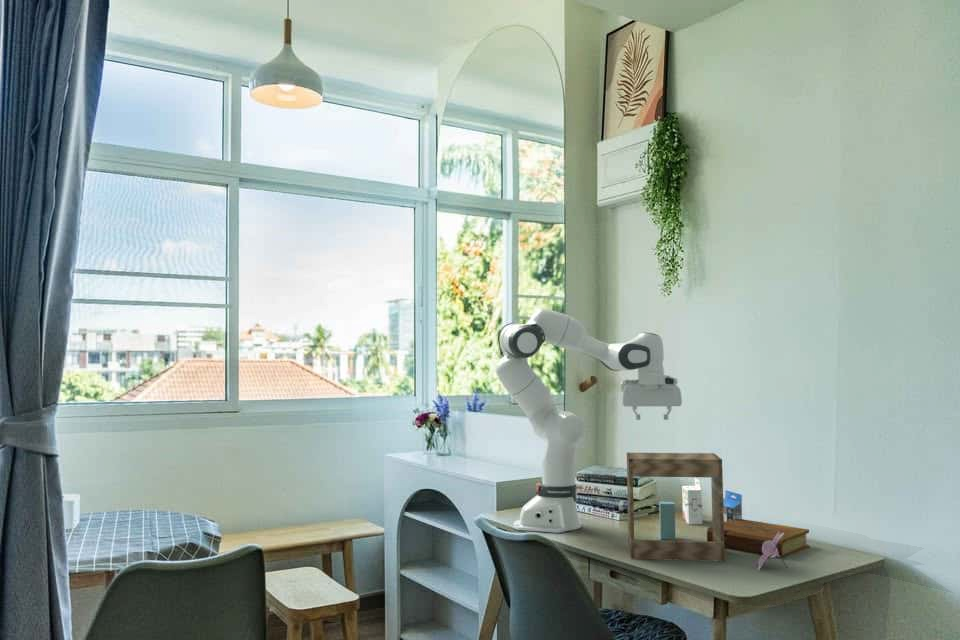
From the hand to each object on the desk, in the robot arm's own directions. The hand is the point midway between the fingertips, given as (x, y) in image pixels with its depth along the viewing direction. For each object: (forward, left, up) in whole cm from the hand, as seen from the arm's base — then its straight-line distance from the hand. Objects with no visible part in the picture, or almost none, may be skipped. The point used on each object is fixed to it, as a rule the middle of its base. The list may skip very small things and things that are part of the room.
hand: (652, 419), depth 264 cm
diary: (+28, -30, -36) cm, 54 cm away
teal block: (+2, -23, -35) cm, 42 cm away
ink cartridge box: (+13, +2, -35) cm, 38 cm away
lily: (+27, -53, -35) cm, 69 cm away
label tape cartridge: (+23, -10, -35) cm, 44 cm away
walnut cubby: (+2, -41, -35) cm, 54 cm away
